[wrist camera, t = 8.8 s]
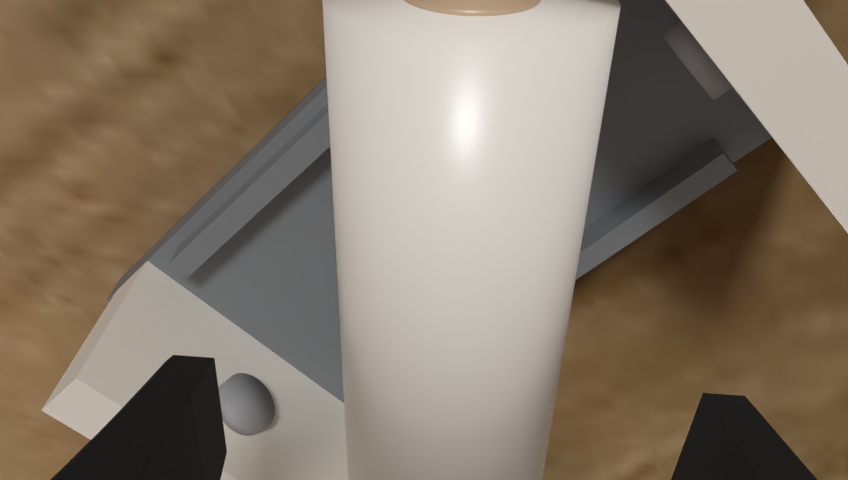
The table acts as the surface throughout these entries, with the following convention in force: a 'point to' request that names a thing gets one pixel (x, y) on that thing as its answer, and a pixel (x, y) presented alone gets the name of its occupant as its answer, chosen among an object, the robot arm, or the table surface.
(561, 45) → the cylinder
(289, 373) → the holder
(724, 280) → the table surface
